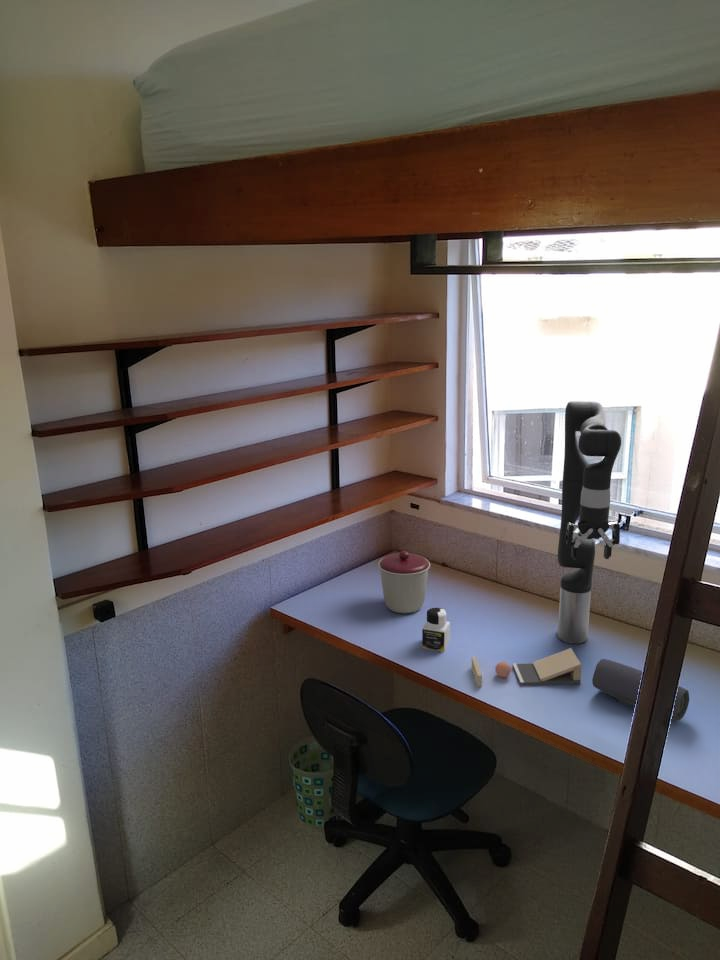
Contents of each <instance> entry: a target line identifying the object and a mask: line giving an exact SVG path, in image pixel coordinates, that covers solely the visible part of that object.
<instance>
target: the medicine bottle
mask: <svg viewBox="0 0 720 960" xmlns="http://www.w3.org/2000/svg"><path fill="white" fill-rule="evenodd" d="M421 631H422V632H421V633H422V637H421V639H422V643H421V644H422V645H421V648H423V649H425V650H431V651H435V652H436V651H437V652H441V653H442V652H443V653H444V652H445V651H446V649H447V648H448V646H449V644H450V641H451V639H450V637H451V622H450V621H447V612H446V610H445V609H443V608H441V607H431V608H429V609H428V610H427V611H426V622H425V623H424V625H423V627H422V628H421Z"/></svg>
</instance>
